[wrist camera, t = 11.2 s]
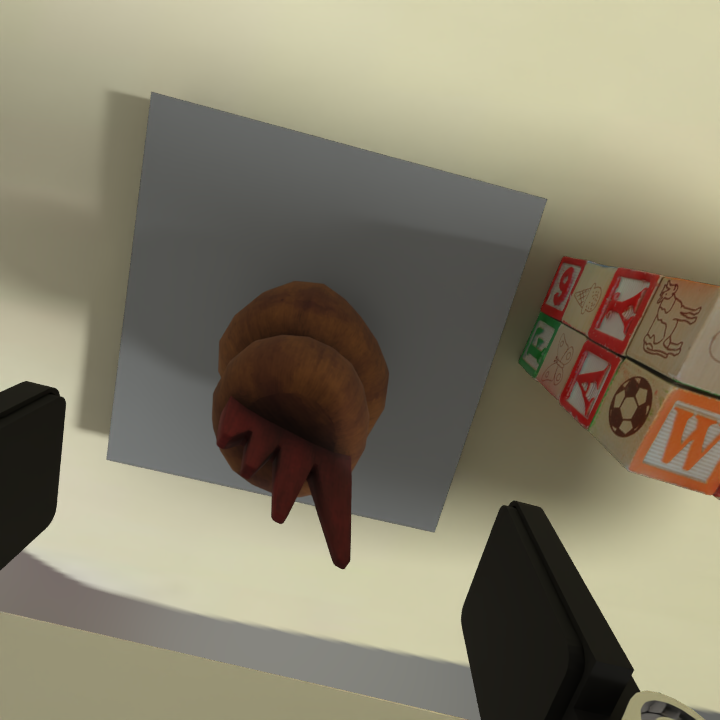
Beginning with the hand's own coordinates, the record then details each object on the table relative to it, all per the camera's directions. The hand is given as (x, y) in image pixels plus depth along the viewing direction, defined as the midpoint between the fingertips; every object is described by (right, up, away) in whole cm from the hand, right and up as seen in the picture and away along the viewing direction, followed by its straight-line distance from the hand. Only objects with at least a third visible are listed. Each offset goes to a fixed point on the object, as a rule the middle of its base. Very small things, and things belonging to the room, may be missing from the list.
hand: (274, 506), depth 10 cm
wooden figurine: (0, +4, +14) cm, 15 cm away
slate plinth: (-1, +5, +16) cm, 17 cm away
